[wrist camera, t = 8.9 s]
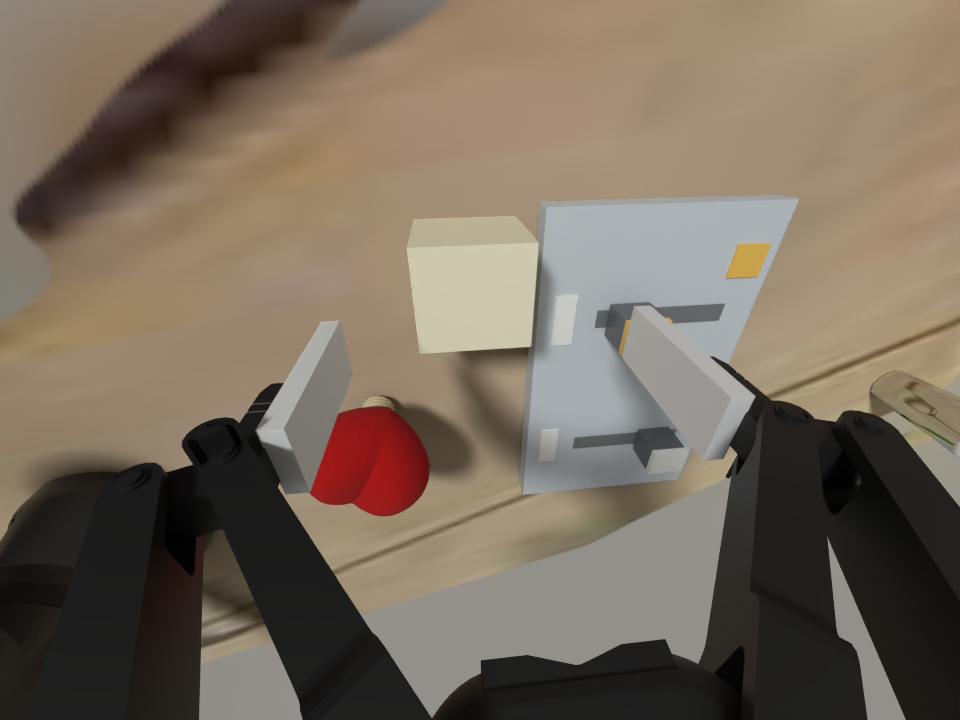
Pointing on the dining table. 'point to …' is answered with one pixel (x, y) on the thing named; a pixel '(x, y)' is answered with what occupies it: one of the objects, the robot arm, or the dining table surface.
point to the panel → (630, 279)
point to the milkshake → (922, 406)
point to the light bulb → (372, 461)
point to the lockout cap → (472, 283)
